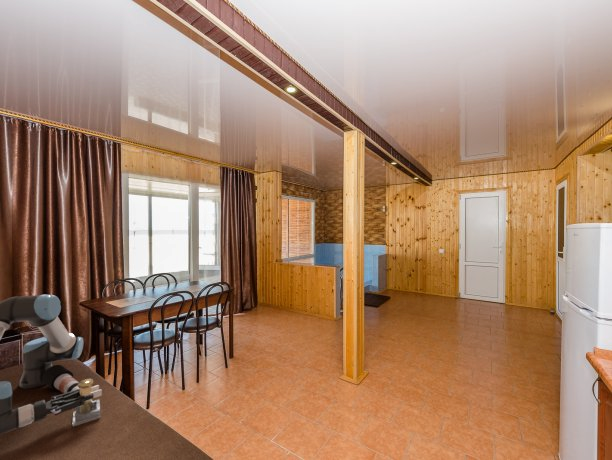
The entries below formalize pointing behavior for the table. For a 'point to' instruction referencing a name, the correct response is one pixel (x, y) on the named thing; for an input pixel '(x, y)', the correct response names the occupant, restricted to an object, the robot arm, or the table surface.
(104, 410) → the table surface
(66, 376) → the cable
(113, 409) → the table surface
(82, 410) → the end pin
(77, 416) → the keeper bracket
